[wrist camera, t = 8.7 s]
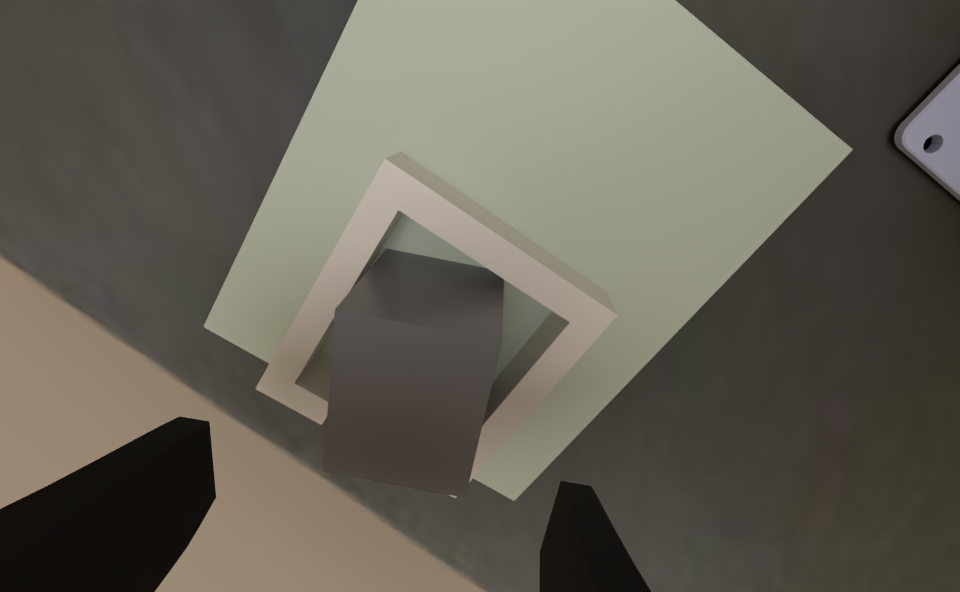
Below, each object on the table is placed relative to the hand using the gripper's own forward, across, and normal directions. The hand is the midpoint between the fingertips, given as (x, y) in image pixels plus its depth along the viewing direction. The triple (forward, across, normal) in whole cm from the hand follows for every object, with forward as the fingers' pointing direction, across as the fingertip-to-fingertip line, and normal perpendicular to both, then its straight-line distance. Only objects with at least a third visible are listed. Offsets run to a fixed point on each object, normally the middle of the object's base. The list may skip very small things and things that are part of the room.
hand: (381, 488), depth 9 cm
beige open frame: (+9, 0, 0) cm, 9 cm away
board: (+9, -1, -3) cm, 9 cm away
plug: (+8, 0, 0) cm, 8 cm away
